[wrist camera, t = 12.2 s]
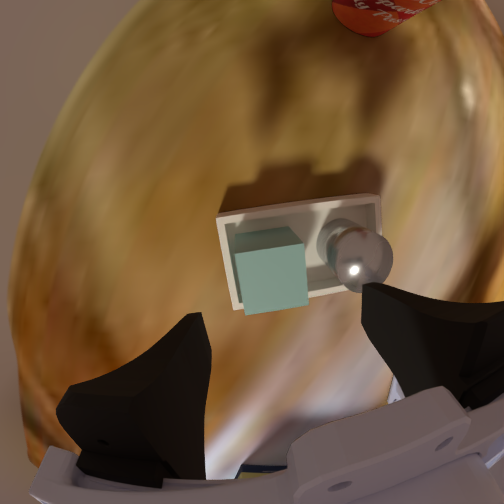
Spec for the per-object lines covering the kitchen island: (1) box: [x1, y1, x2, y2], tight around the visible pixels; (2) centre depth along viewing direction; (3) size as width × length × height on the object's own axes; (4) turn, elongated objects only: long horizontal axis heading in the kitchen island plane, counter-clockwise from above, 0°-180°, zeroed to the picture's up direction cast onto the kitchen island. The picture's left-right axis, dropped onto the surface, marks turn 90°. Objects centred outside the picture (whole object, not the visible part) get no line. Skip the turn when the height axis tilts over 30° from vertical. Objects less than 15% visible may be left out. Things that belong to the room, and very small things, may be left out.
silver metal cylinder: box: [316, 218, 393, 293], centre depth 19 cm, size 4×4×5 cm
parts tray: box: [216, 193, 382, 310], centre depth 20 cm, size 12×7×2 cm, turn 98°
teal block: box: [234, 226, 309, 315], centre depth 19 cm, size 4×4×5 cm
